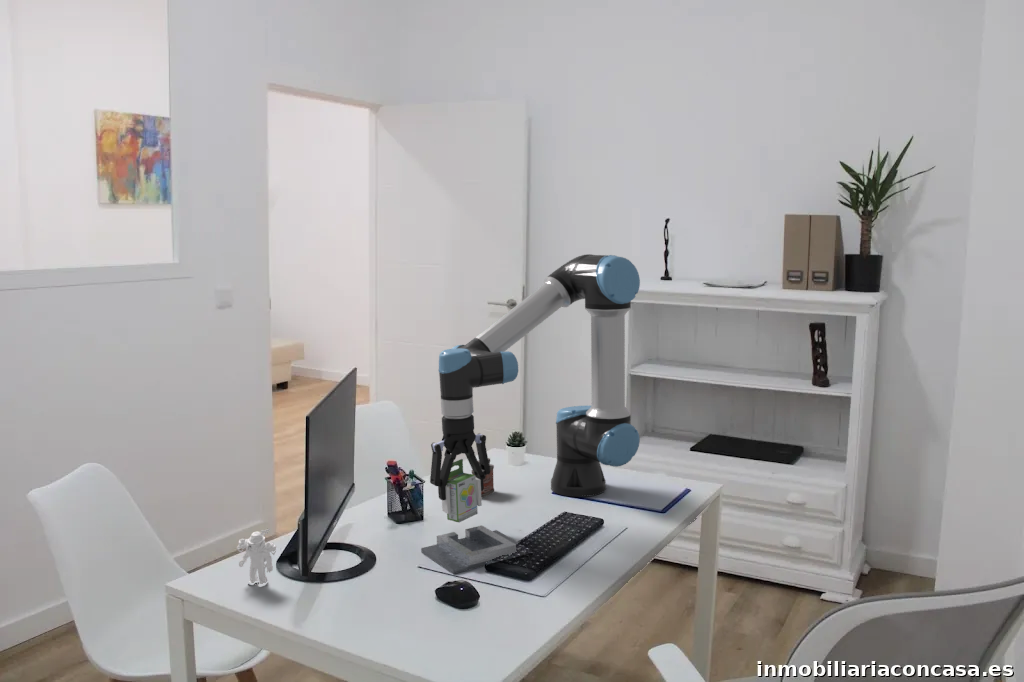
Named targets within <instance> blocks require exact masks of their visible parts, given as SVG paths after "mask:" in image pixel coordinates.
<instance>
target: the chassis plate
mask: <svg viewBox="0 0 1024 682" xmlns="http://www.w3.org/2000/svg"><path fill="white" fill-rule="evenodd" d="M464 533H465V537H463V538H459V534H458V533H457V532H454V531H452V532H448V533H443V534H440V535H436V544H433V545H428V546H424V547H421V548H420V551H421V553H422V554H423V555H424V556H425V557H428V558H429V559H430V560H432V561H434V562H435V563H436V564H438V565H440V567H442V568H443V569H445V570H446V571H448V572H449V573H451V574H452V575H455V574H460V573H463V572H467V571H470V570H474V569H479V568H483V567H486V566H485V563H486V562H488V561H490V560H492V559H494V558H496V557H499V556H502V555H506V554H511V553H515V552H517V551H516V544H518V543H520V542H519V541H517V540H515V539H513V538H511V537H510V536H509V535H506V534H504V533H503V532H501V531H499V530H497V529H495V530H490V529H489V528H488V527H485V526H484V525H478V526H473V527H469V528H466V529H465V531H464Z"/></svg>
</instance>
